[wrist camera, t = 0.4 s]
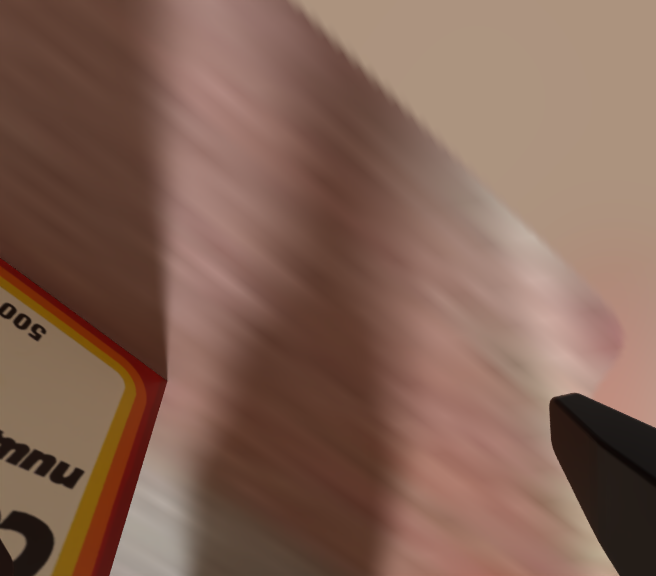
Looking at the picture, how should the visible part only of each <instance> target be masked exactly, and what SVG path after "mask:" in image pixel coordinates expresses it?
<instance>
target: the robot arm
mask: <svg viewBox="0 0 656 576" xmlns="http://www.w3.org/2000/svg"><path fill="white" fill-rule="evenodd" d="M549 411H550V430H551V442H552V446H553V450H554V452H555V455H556V457H557V459H558V461H559V463H560V465H561V467H562V469H563V471H564V473H565V475H566V477H567V479H568V481H569V483H570V485H571V487H572V489H573V491H574V493H575V496H576V498H577V500H578V502H579V504H580V506H581V508H582V510H583V512H584V514H585V516H586V518H587V520H588V522H589V524H590V526H591V528H592V530H593V532H594V534H595V536H596V538H597V540H598V541H599V543H600V545H601V546H602V548H603V550H604V551H605V553H606V555H607V556H608V558H609V560H610V561H611V563H612V564H613V566H614V567H615V569H616V571H617V572H618V574H619V575H620V576H656V428H655V427H652V426H650V425H648V424H646V423H644V422H641V421H639V420H637V419H635V418H632V417H630V416H628V415H626V414H624V413H621V412H619V411H617V410H615V409H613V408H610V407H608V406H606V405H603V404H601V403H599V402H597V401H595V400H593V399H590V398H588V397H586V396H584V395H581V394H579V393H570V394H566V395H561V396H557V397H553V398H552V399H551V400H550V404H549ZM13 573H14V565H13V560H12V558H11V556H10V554H9V552H8V551H7V549H6V547H5V545H4V544H3V542H2V540H1V539H0V576H13Z"/></svg>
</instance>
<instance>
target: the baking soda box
mask: <svg viewBox="0 0 656 576" xmlns="http://www.w3.org/2000/svg"><path fill="white" fill-rule="evenodd" d="M166 384H167V380H165V379H164V378H162V377H161V376H160V375H158V374H157V373H156V372H154V371H153V370H152V369H150V368H149V367H148V366H146V365H145V364H143V363H142V362H141V361H139V360H138V359H137V358H135V357H134V356H133V355H131V354H130V353H129V352H127V351H126V350H125V349H123V348H122V347H120V346H119V345H118V344H116V343H115V342H114V341H112V340H111V339H110V338H108V337H107V336H106V335H104V334H103V333H101V332H100V331H99V330H97V329H96V328H95V327H93V326H92V325H91V324H89V323H88V322H87V321H85V320H84V319H82V318H81V317H80V316H78V315H77V314H76V313H74V312H73V311H72V310H70V309H69V308H68V307H66V306H65V305H63V304H62V303H61V302H59V301H58V300H57V299H55V298H54V297H53V296H51V295H50V294H49V293H47V292H46V291H44V290H43V289H42V288H40V287H39V286H38V285H36V284H35V283H34V282H32V281H31V280H30V279H28V278H27V277H25V276H24V275H23V274H21V273H20V272H19V271H17V270H16V269H15V268H13V267H12V266H11V265H9V264H8V263H6V262H5V261H4V260H2V259H1V258H0V539H1V540H2V542H3V544H4V545H5V547H6V549H7V551H8V552H9V554H10V556H11V558H12V560H13V565H14V573H13V576H109V575H110V571H111V568H112V565H113V561H114V558H115V555H116V551H117V548H118V545H119V541H120V538H121V535H122V531H123V528H124V525H125V521H126V518H127V515H128V511H129V508H130V504H131V501H132V498H133V494H134V491H135V488H136V484H137V481H138V478H139V474H140V471H141V468H142V464H143V461H144V458H145V454H146V451H147V448H148V444H149V441H150V438H151V434H152V431H153V428H154V424H155V421H156V418H157V414H158V411H159V407H160V404H161V401H162V397H163V394H164V391H165V387H166Z"/></svg>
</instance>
